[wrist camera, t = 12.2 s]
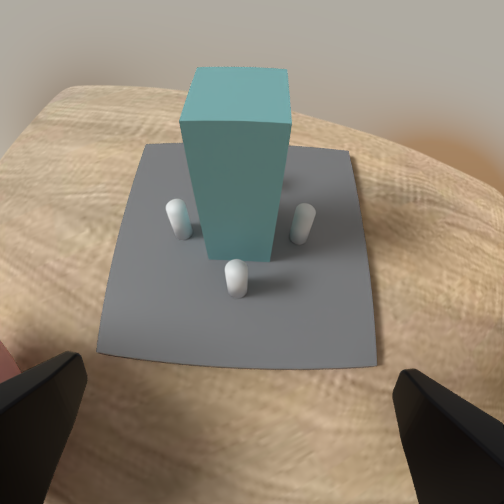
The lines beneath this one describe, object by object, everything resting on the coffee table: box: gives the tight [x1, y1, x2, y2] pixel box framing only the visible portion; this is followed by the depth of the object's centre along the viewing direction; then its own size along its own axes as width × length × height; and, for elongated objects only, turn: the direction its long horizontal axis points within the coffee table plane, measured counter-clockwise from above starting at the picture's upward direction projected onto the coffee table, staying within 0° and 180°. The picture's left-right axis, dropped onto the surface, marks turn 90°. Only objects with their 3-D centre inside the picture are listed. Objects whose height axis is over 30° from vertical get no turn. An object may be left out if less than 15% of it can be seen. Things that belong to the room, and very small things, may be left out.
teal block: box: [179, 67, 292, 262], centre depth 18 cm, size 4×4×13 cm
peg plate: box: [96, 143, 377, 370], centre depth 23 cm, size 20×20×4 cm
